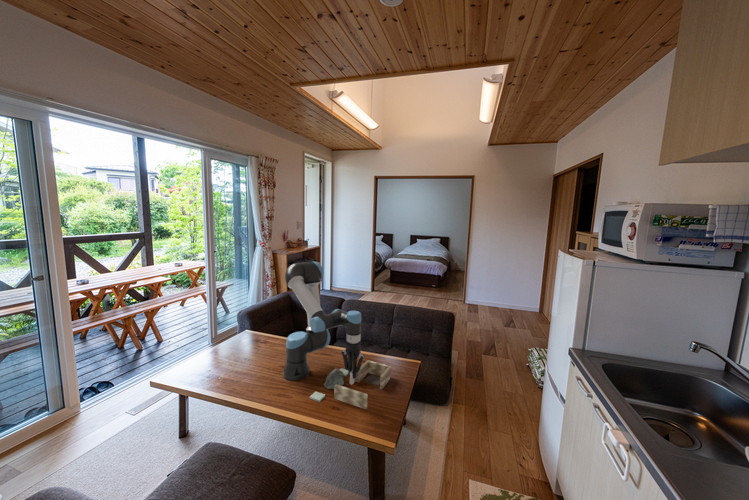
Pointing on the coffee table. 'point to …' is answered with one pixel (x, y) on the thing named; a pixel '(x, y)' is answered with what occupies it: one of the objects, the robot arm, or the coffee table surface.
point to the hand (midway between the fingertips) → (352, 383)
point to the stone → (334, 379)
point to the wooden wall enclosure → (368, 367)
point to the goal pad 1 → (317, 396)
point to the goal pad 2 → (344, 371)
